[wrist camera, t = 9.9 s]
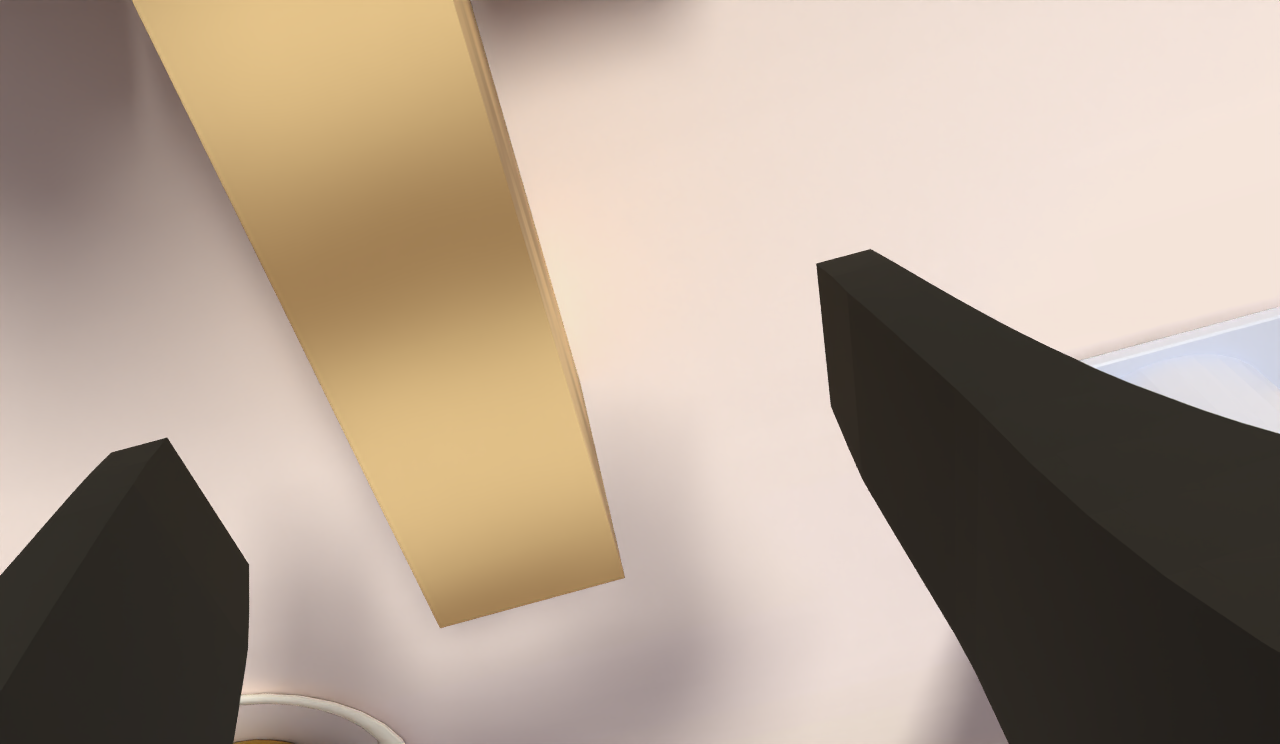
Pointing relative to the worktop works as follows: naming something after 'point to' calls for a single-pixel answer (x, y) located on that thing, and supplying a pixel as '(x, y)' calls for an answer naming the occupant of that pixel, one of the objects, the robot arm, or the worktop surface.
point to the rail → (406, 277)
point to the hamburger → (377, 729)
